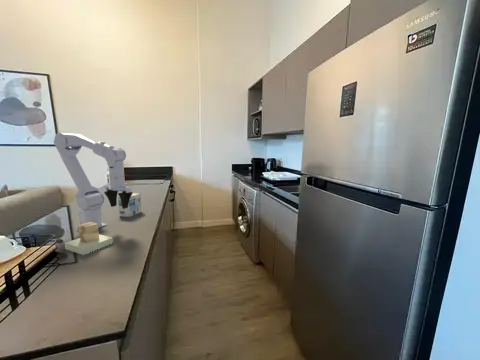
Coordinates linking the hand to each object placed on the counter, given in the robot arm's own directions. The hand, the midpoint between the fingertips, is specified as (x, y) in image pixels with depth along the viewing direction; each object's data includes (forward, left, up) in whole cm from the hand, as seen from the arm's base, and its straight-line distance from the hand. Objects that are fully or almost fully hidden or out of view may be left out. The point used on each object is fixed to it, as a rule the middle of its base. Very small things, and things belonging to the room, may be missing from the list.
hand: (119, 207), depth 106 cm
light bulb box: (-17, +19, -11) cm, 28 cm away
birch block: (+5, -17, -8) cm, 19 cm away
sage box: (+5, -17, -11) cm, 21 cm away
